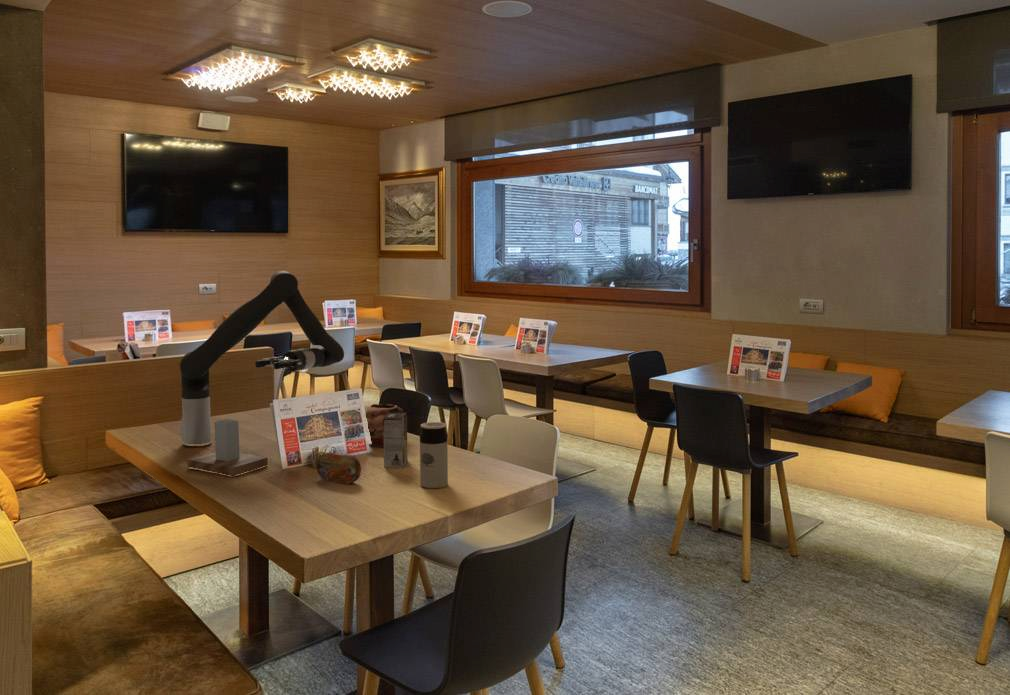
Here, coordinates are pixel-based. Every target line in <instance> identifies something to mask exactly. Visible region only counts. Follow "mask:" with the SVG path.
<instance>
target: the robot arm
mask: <svg viewBox="0 0 1010 695" xmlns="http://www.w3.org/2000/svg"><path fill="white" fill-rule="evenodd" d="M298 287H299V281H298V279H297V277H296V276H295V275H294V274H293V273H291V272H289V271H287V270H278V271H276V272H274V273H273V275H272V276H271V277H270V281H269V283H268V284H267V285H266V287H264V289H263V290H262V291H261V292H260V293H259V294H257V296H255V297H253V298H251V299H250V300H249V301H247V302H245V303H244V304H242V305H241V306H239V307H238V308H237V309H235V310H234V311H232V312H231V313H230V315H228V316H227V317H226V318H225V319H224V320H223V321H222V322H221V323H220V324H219V326H218V327H217V328H216V329H215V330H214V331H213V332H212V334H211V335H210V336H209V337H208V338H207V339H206V340H205V342H203V343H202V344H200V345H199V346H198V347H196V348H195V349H194V350H192V351H189V352H186V354H184V355H183V357H182V358H181V360H180V363H179V370H180V377H181V389H180V391H181V393H180V394H181V409H182V411H181V412H182V418H181V419H180V426H181V430H180V431H181V442H182V441H184V443H187V444H202V443H207V442H210V441H211V440H213V439H212V417H211V398H210V397H211V395H210V394H211V393H210V392H211V391H210V368H211V367H212V366H214V364H215V363H216V362H217V361H218V360H219V359H220V358H221V357H222V356H223V355H224V354H226V353H227V352H229V351H230V350H231V349H232V348H234V347H235V346H236V345H238V344H239V343H240V342H241V341H243V340H244V339H245V338H246V337H247V336H249V335H250V334H251V332H252V331H254V330H255V329H256V328H257V327H258V326H259V325H260V324H261V323H262V322H263V321H264V320H265V319H266V318H267V317H268V316H269V315H270V314H271V312H272V311H274V310H275V309H276V308H277V307H279V306H280V305H281V304H283V303H284V304H285V305H286V307H287V308H288V309H289V310H290V312H291V313H292V315H293V316H294V318H295V320H296V322H297V323H298V325H299V326H300V328H301V330H302V332H303V333H304V335H305V336H306V338H307V339H308V340H309V342H310V343H311V345H313V346H321V348H318V347H312V348H300V349H294V350H293V349H291V350H288V351H286V352H285V353H284V354H283V356H281V355H280V356H278V357H277V356H275V357H274V356H271V357H265V358H260V360H256V361H255V363H254V364H255V368H256V369H257V368H258V369H259V368H266V367H270V368H273V369H274V370H280V369H285V370H286V371H287V372H290V373H294V372H298V371H299V372H300V371H305V370H308V369H311V368H312V369H313V368H323V367H329V366H331V365H335V364H337V363H340V362H342V361H343V360H344V357H345V352H344V351H345V350H344V349H343V347H342V345H341V344H340V343H339V342H338V341H337V340H336V339H335V338H334V337H333V336H332V335H330V334H329V333H328V332H327V331H326V329H325V327H324V325H323V323H322V322H321V321H320V320H319V318H318V317H317V315H316V314H315V313H314V312H313V311H312V309H311V308H310V306H309V305H308V304H307V302H306V301H305V299H304V298H303V296H302V295H301V292H300V290H299V288H298Z"/></svg>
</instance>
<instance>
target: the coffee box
mask: <svg viewBox="0 0 1010 695" xmlns="http://www.w3.org/2000/svg"><path fill="white" fill-rule="evenodd" d="M407 414H408V412H404V413H388V414H387V415H386V416H385V417H384V418H383V436H384V447H383V468H385V467H386V468H385V469H387V467H397V469H398V468H400V469H403V468H404V467H405V465H406V464H407V463H408V419H407V418H408V415H407Z"/></svg>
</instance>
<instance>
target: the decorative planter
mask: <svg viewBox="0 0 1010 695" xmlns="http://www.w3.org/2000/svg"><path fill="white" fill-rule="evenodd" d="M388 413H405V411H404V409H403V408H401V407H399V406H398V405H396V404H388V403H387V404H383V403H382V404H376V403H375V404H371V405H370V406H368V408H367V410H366V411H365V415H366V418H367V421H368V429H369V432H370V436H371V441H372V445H371V446H374V447H381V448H382V447H383V448H384V436H383V418H384V417H385V416H386V415H387V414H388Z"/></svg>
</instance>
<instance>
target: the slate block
mask: <svg viewBox="0 0 1010 695" xmlns="http://www.w3.org/2000/svg"><path fill="white" fill-rule="evenodd" d="M213 426H214V441H215V442H214V445H215V447H214V448H215V452H216V459H217V460H222V461H230V460H234V459H237V458H240V453H241V452H240V432H239V420H237V419H236V420H235V419H231V418H230V419H229V418H226V419H225V418H224V419H222V420H216V421H214V425H213Z"/></svg>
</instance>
